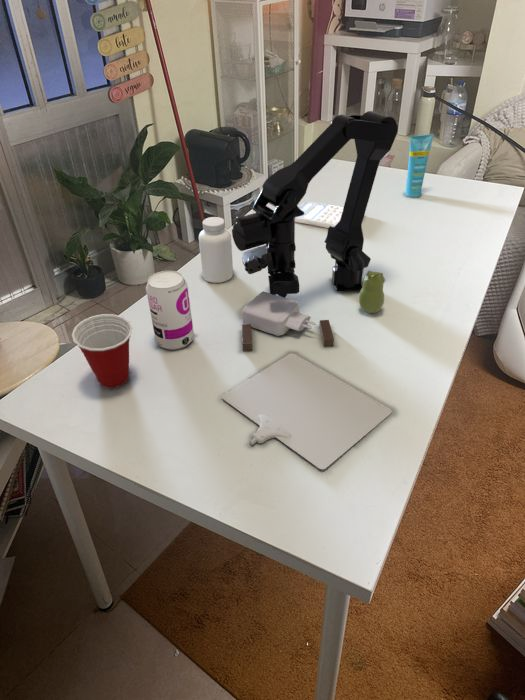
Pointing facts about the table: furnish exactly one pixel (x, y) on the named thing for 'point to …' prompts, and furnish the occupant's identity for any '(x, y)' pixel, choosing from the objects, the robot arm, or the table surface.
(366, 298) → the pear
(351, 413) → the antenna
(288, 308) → the charger
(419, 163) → the tube
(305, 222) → the calculator
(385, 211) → the table surface
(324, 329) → the bay
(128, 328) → the plastic cup
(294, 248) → the robot arm
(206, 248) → the pill bottle
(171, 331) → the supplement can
